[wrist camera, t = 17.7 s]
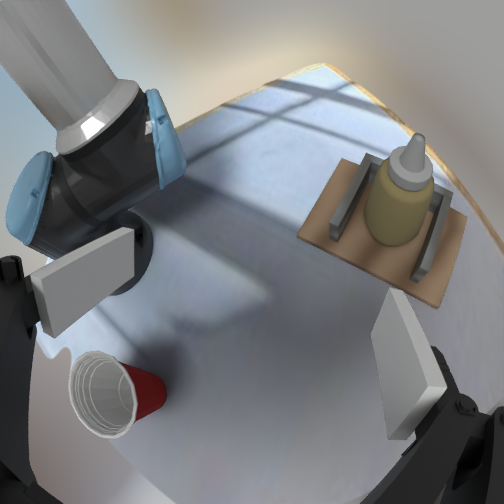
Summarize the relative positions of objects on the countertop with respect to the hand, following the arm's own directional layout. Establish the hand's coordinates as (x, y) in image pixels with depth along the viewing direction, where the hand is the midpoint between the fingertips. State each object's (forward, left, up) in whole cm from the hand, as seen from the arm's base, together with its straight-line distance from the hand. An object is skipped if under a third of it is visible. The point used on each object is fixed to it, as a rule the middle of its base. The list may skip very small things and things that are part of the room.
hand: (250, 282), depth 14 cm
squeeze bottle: (+4, +18, -24) cm, 30 cm away
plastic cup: (-13, -19, -25) cm, 34 cm away
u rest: (+4, +19, -25) cm, 31 cm away
